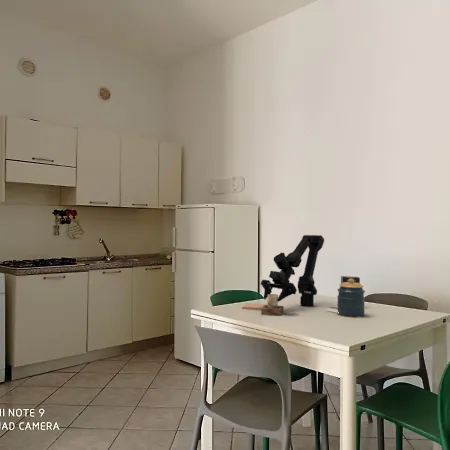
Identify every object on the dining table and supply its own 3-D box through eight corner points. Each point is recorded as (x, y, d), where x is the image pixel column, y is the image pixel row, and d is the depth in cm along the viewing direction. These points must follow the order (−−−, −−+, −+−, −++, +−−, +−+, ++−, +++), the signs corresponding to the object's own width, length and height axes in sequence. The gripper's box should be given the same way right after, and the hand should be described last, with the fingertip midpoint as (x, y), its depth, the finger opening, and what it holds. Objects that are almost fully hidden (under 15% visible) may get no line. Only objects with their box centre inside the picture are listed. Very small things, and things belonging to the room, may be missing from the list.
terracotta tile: (266, 306, 233) (266, 304, 233) (263, 310, 222) (263, 308, 222) (246, 305, 236) (246, 303, 236) (242, 308, 225) (242, 306, 225)
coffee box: (341, 307, 234) (342, 277, 234) (339, 305, 240) (340, 276, 240) (359, 308, 233) (360, 277, 233) (357, 306, 239) (357, 276, 239)
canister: (345, 317, 207) (346, 280, 207) (332, 312, 219) (332, 277, 220) (370, 316, 210) (370, 279, 210) (355, 311, 223) (355, 276, 223)
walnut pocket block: (283, 312, 218) (283, 306, 218) (280, 315, 209) (281, 309, 209) (264, 310, 220) (264, 304, 220) (261, 314, 211) (261, 308, 211)
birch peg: (278, 312, 216) (278, 294, 216) (276, 314, 211) (277, 295, 211) (268, 312, 218) (268, 293, 218) (266, 314, 213) (266, 295, 213)
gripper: (263, 263, 224) (248, 287, 216) (293, 266, 211) (280, 291, 203) (271, 278, 230) (258, 301, 221) (302, 281, 217) (289, 306, 209)
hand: (271, 300), depth 213 cm, fingers open, 8 cm apart
